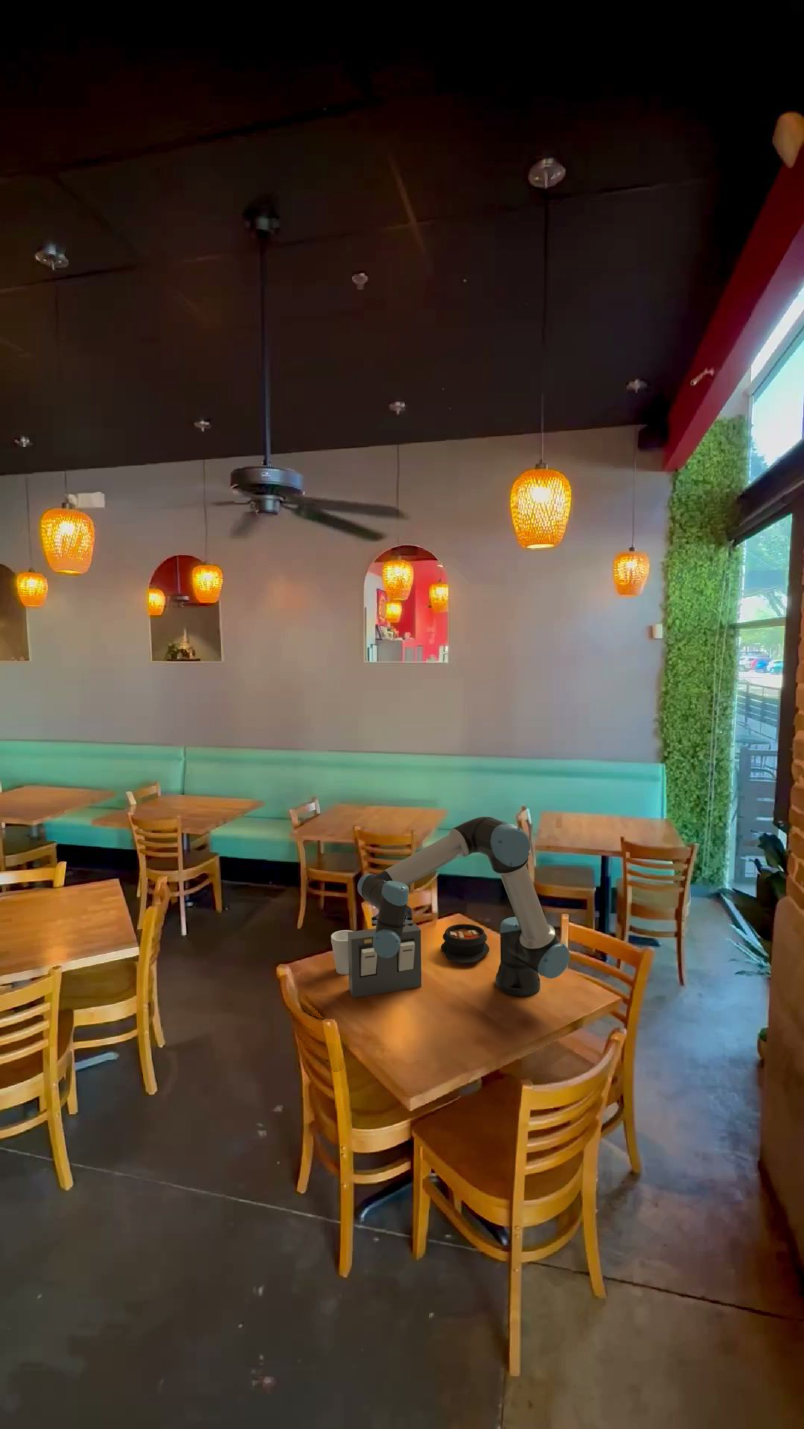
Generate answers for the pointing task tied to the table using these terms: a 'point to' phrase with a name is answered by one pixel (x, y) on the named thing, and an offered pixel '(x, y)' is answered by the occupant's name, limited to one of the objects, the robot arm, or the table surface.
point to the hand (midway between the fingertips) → (395, 907)
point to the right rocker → (406, 956)
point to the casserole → (464, 943)
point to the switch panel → (382, 965)
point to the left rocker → (368, 962)
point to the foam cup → (341, 951)
